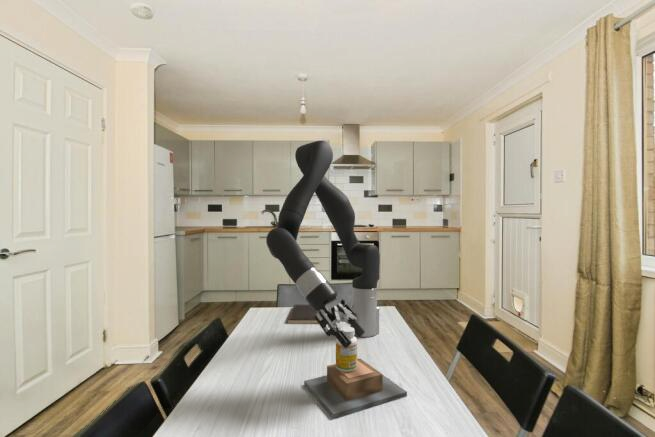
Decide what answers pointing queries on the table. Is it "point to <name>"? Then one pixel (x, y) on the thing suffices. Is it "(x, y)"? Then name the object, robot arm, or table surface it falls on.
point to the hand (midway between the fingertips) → (356, 339)
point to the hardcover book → (302, 315)
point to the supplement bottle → (347, 352)
